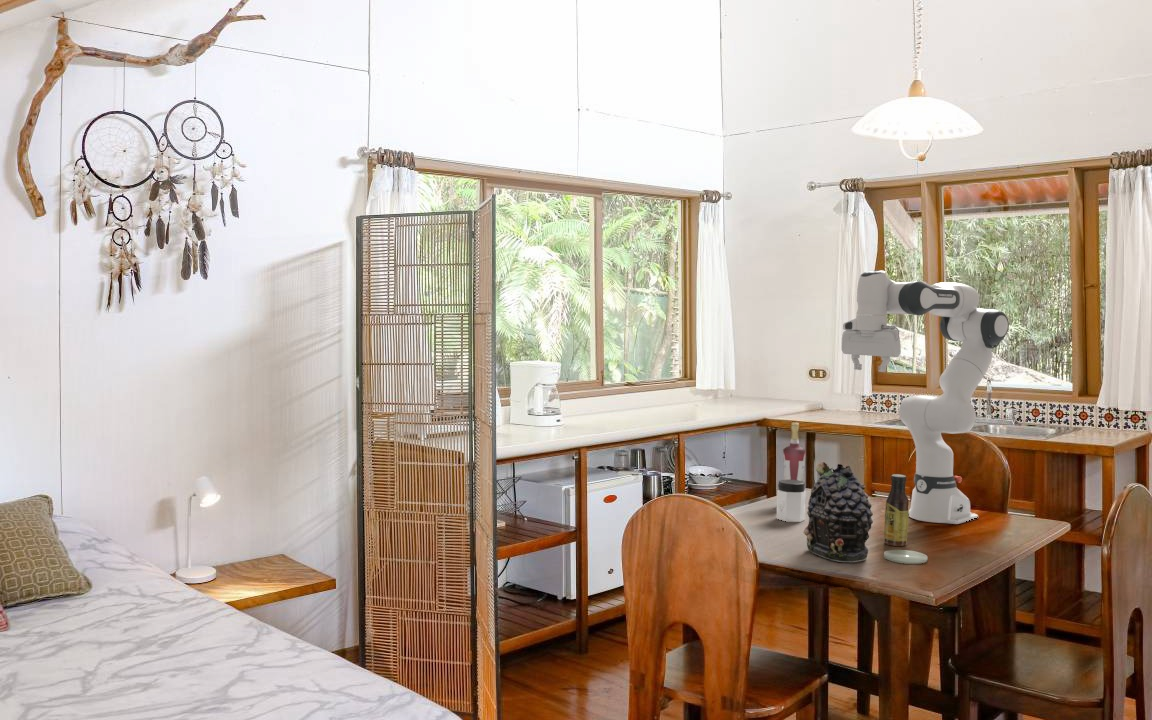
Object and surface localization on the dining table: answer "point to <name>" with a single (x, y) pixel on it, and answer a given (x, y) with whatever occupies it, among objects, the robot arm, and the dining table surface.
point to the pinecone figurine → (838, 515)
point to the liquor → (794, 457)
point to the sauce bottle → (896, 513)
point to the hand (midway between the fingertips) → (869, 370)
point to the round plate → (905, 556)
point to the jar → (791, 500)
